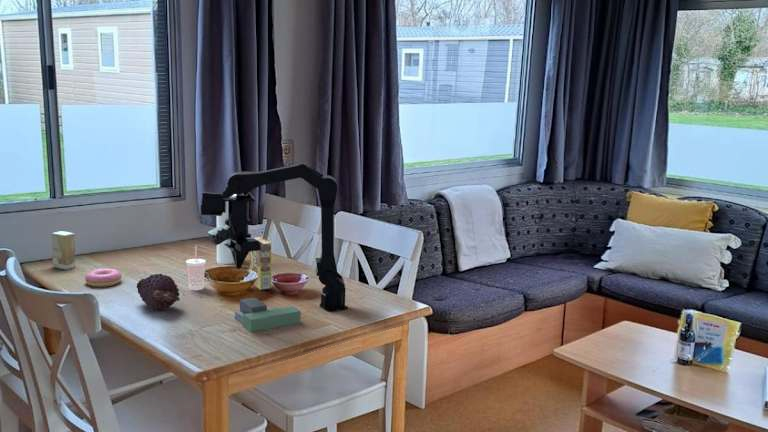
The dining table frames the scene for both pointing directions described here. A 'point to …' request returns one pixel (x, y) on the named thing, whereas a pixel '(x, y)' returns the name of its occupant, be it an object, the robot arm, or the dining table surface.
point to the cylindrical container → (223, 251)
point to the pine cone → (158, 291)
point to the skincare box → (63, 250)
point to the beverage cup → (196, 272)
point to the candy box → (262, 264)
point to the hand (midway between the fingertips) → (238, 268)
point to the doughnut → (103, 277)
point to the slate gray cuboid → (251, 305)
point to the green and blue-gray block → (269, 318)
